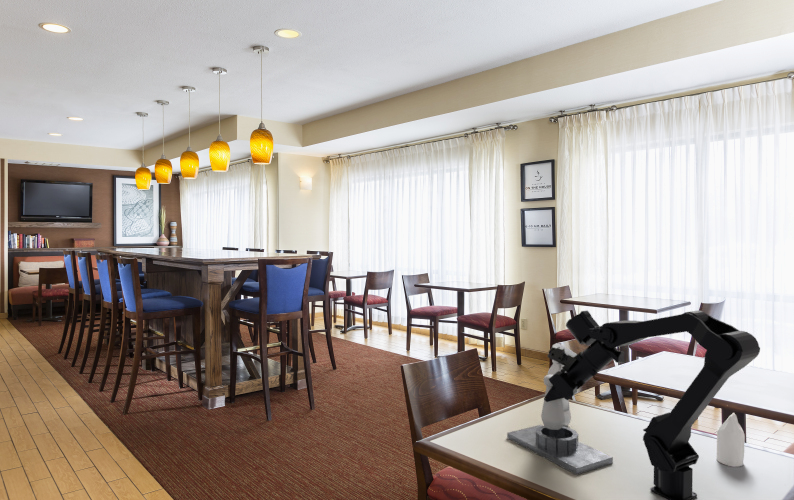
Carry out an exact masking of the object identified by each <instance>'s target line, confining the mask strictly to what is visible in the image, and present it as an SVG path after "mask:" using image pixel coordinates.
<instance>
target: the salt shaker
mask: <svg viewBox="0 0 794 500" xmlns="http://www.w3.org/2000/svg"><path fill="white" fill-rule="evenodd" d="M552 376H553V375H548V374H546V375H545V376H544V377H543V384H544V385H545V387H546V388H545V394H544V397H545V396H546V395H547V393H548V392H549V390H550V389H551V387H552V386H553V385H552V384H551V383H550V381H549V378H550V377H552ZM540 417H541V421H542V423H543V424H542V425H543V426H545V427H546V428H548V429H550V430H559V429H561V428H562V426H563V424H564V422H565V415H564V409H563V404H562V399H557V400H553V401H549V402H546V401H545V400H544V399H543V404H542V410H541V414H540Z"/></svg>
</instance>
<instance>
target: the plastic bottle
mask: <svg viewBox="0 0 794 500" xmlns="http://www.w3.org/2000/svg"><path fill="white" fill-rule="evenodd" d="M563 366H564V365H562V364H560V363H558V362H556V361H555V360H553V359H552V365H550V368H549V369H548V372H547V375H554V374H555V373H556V372H558V371H561V370H562V369H563V368H562V367H563ZM562 404H563V409H564V415H565V422H564V424H563V426H564V427H568V426H569V425H570V424H571V420H572V415H571V410H570V399H569V400H566V399H565V398H562Z"/></svg>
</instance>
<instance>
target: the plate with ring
mask: <svg viewBox="0 0 794 500" xmlns="http://www.w3.org/2000/svg"><path fill="white" fill-rule="evenodd" d="M506 435H507V437H506V438H507V440H509V441H511V442H513V443H516V444H518V445H519V446H521V447H523V448H525V449H527V450H529V451H531V452H532V453H533V454H536V455H538V456H541V457H542V458H544V459H545V460H548V461H550V462H551V463H553V464H556V465H557V466H559V467H561V468H563V469H565V470H567V471H568V472H571V474H572V473H573V474H575V475H580V474H583V473H586V472H589V471H593V470H595V469H596V470H597V469H600V468H602V467H605V466H609V465H612V464H614V457H613V456H612V455H609V454H607V453H604V452H602V451H600V450H599V449H597V448H594V447H591V446H589V445H587V444H585V443H582V442H580V441H579V433H578V432H577V431H576V429H573V428H570V427H568V426H566V427H564V426H562V428H561V429H559V430H550V429H548V428H546V427H545V426H544V424H538V425H534V426H529V427H525V428H521V429H517V430H512V431H509V432H507V433H506Z"/></svg>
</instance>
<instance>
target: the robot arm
mask: <svg viewBox="0 0 794 500" xmlns="http://www.w3.org/2000/svg"><path fill="white" fill-rule="evenodd" d="M565 327H566V328H567V330H568V331H569V332H570V334H571V335H572V336H573V338H575V340H576V341H577V342H578V344H579V345H585V346H588V347H586V348H585V349H584V350H583V351H580V352H578V353H576V352H574V351H573V350H571V349H570V348H568V347H566V346H564V345H562V343H561V344H560V343H558V342H556V343H554V344H552V346H551V348H550V349H548V353H547V358H548V359H550V360H555V361H556V362H558V363H560V364H562V365H564V366H563V367H562V368H563V369H562V370H561V371H558V372H556V373H555V374H554V375H553V376H552V377H550V378H549V381H550V383H551V384H552V385H553V386H552V387H551V389H550V390H549V392H548V393H547V395H546V396H545V395H544V398H543V401H544V400H545V401H546V402H549V401H553V400H557V399H562V398H565V399H566V400H569V401H570V399H571V398H572V397H574V396H575V395H576V394H577V393H578V390H580V388H581V387H582V386H584V385H585V384H586V383H587V382H589V381H590V380H591V379H592V378H593V377H595V376H596V375H597V374H598V373H599V372H600V371H601V370H602V369H604V368H605V367H606V366H607V365H608V364H610V363H611V362H612V361H613V360H614V362H615V363H617V364H625V353H626V352H624V351H622V350H621V351H620V350H618V347H626V346H631V345H633V344H636V343H639V342H642V341H643V340H645V339H648V338H653V337H661V336H667V335H673V334H680V333H685V332H687V334H690V336H691V337H692V338H693V339H694V340H695V341H696V342H697V344H698V345H700V347H702V348H704V349H705V350H706V351H705V353H704V360H703V361H704V362H703V366H702V369H701V370H700V371H699V372H698V374H697V375H696V376H695V378H694V379H693V381H692V382H691V384H689V386H688V387H687V389H686V390H685V392H684V393H683V395H682V396H680V399H679V400H678V401H677V402H676V403H675V406H674V407H673V408H672V409H671V411H670V412H666V413H663V414H660V415H656V416H653V417H652V418H651V419H650V421H649V424H648V425H647V427H646V428H644V429H642V430H643V432H644V434H643V436H642V441H643V444H644V446H645V448H646V452H647V455H648V459H649V462H650V465H651V466H652V467H653V485H654V486H652V487H650V491H651V492H653V493H654V494H657V495H659V496H660V497H663V498H665V499H667V500H692V499H694V498H696V497H698V494H697V492H695V491H693V473H694V472H693V468H692V467H691V466H693V465H696V464H697V462H698V460H699V457H700V456H699V454H698V452H697V451H696V450H695V449H694V448H693V446H692V445H691V444H690V442H689V441H690V438H691V436H692V427H693V425H694V424H695V423H696V421H697V420H698V419H699V417H700V416H701V414H702V413H703V412H704V411H705V409H706V408H707V406H708V405H709V404H710V403H711V402H712V400H713V399H714V398H715V396H717V394H718V393H719V391H720V390H721V388H722V387H723V386H724V385H725V383H726V382H727V381H728V379H729V378H730V377H732V376H733V375H735V374H737V373H738V372H739V371H741V370H743V369H744V368H745V367H746V366H747V365H749V364H750V363H751V362H752V361H754V360H755V359H756V358H757V357H758V356H759V354H760V351H761V347H760V344H759V342H758V340H757V338H756V337H755V336H754V335H753V334H752V333H749V332H748V331H745V330H739V329H737V328H736V327H734V326H733V325H731V324H728V323H726V322H724V321H722V320H720V319H717V318H715V317H712V315H710V314H709V313H706V312H705V311H703V310H691V311H686V312H684V313H680V314H675V315H670V316H665V317H659V318H654V319H647V320H644V321H642V320H624V319H623V320H618V321H611V322H610V321H609V322H605V323H603V324H602V325H599V324H598V322H597V321H596V320H595V318H594V317H593V316H592V314H591V313H590V311H588V310H581V311H580V313H578V314H576V315H574V316H573V317H571V318H570V319H568V320H567V321H566V324H565Z"/></svg>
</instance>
